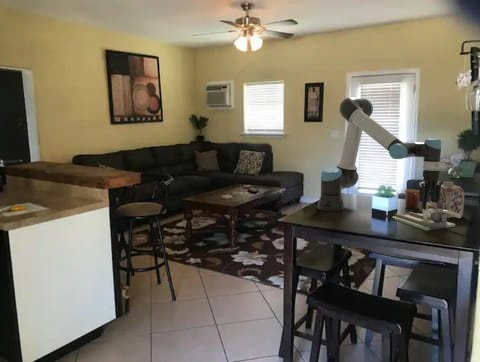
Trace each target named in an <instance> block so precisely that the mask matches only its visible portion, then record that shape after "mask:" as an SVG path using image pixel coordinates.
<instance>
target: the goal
mask: <svg viewBox="0 0 480 362" xmlns="http://www.w3.org/2000/svg"><path fill="white" fill-rule="evenodd" d="M438 219H439V218H438ZM438 219H435V220H434V223H428V222H424V221H420V225H423V226H426V227H429V228H430V230H429V231H432V230H434V231H435V230H441V229H447V228H446V227H445V228H444V226H446V222H447V221H446V222H445V221H442V220H438Z"/></svg>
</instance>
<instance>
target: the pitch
mask: <svg viewBox="0 0 480 362" xmlns="http://www.w3.org/2000/svg"><path fill="white" fill-rule="evenodd" d="M423 216H424V215H422V213H418V212H417V213H415V212H412V211H408V214H399V213H396V212H395V215H394V216H391V219H392V218H393V219H392V220H394V219H395V221H397V222H400V223H403V224H406V225H408V226H411V225H412V227H415V228H417V229H421V230H423V231H431V230H430V228H429V227H426V226H423V225H420V221H423ZM430 220H432V221H434V220H435V219H433V218H430ZM438 220H439V218H438ZM445 227H446V228H445ZM454 227H456V223H453V222H449V221H446V226H444V228H443V229H448V228H454Z"/></svg>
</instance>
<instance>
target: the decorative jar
mask: <svg viewBox="0 0 480 362" xmlns="http://www.w3.org/2000/svg"><path fill="white" fill-rule="evenodd" d="M430 202H432V201H431V200H430ZM464 205H465V190H464V189H463V188H462V187H461V186H459V185H456V184H454V182H453V181H444V182H443V183H442V185H441V190H440V199H439V201H438V202H437V203H436V208H440V209H444V210H447V211H451V212H455V213H459V214H461V215H462V216H463V214H464V208H465V207H464ZM439 214H443V213H439ZM438 217H439V215H438ZM449 218H455V217H454V216H450V215H447V219H449Z"/></svg>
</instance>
